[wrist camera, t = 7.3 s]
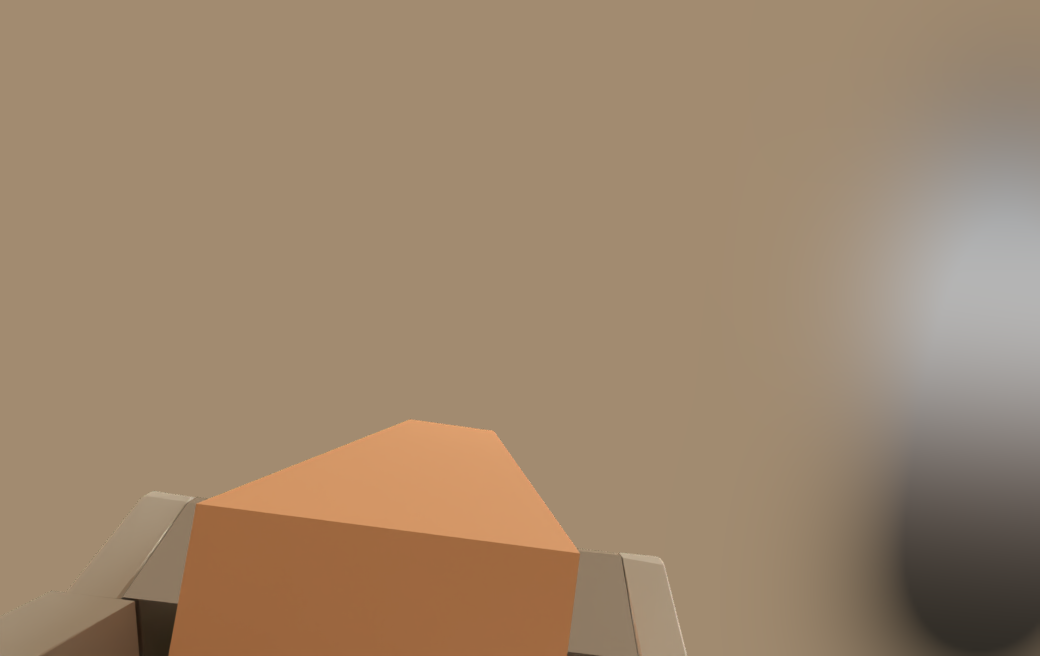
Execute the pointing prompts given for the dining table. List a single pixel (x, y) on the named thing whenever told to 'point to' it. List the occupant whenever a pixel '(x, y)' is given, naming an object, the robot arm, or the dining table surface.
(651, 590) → the robot arm
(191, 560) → the block
